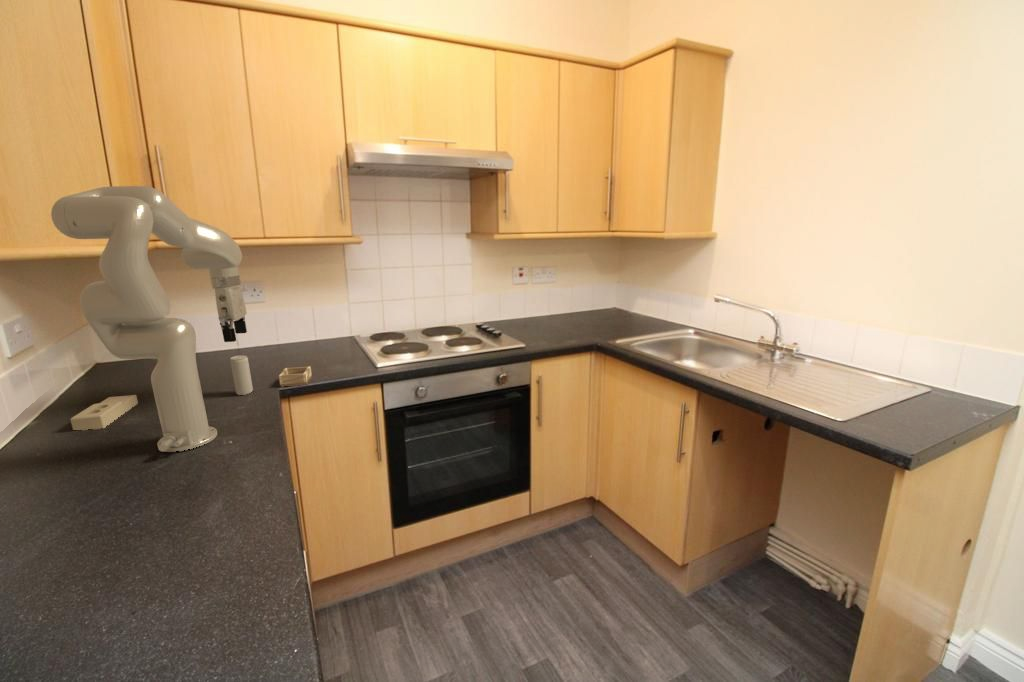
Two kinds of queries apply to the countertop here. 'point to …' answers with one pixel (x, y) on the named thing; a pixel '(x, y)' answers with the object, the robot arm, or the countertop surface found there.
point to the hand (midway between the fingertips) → (236, 337)
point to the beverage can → (241, 374)
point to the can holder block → (295, 376)
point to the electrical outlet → (103, 412)
